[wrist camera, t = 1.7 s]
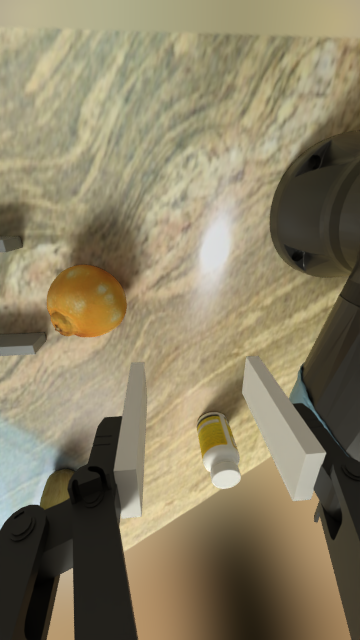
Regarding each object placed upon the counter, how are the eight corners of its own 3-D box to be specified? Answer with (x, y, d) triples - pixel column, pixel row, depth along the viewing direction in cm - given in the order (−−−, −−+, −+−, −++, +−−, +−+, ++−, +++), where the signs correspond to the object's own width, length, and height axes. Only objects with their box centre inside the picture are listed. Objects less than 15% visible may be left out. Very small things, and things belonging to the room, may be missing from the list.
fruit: (82, 328, 33) (61, 361, 26) (49, 272, 30) (14, 292, 23) (138, 307, 33) (134, 335, 26) (111, 248, 30) (96, 261, 22)
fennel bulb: (84, 482, 46) (62, 568, 35) (58, 487, 46) (27, 574, 35) (75, 461, 43) (47, 546, 33) (46, 466, 43) (10, 553, 32)
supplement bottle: (190, 428, 43) (199, 486, 34) (207, 406, 41) (221, 461, 32) (215, 438, 44) (230, 496, 35) (233, 417, 42) (254, 472, 34)
